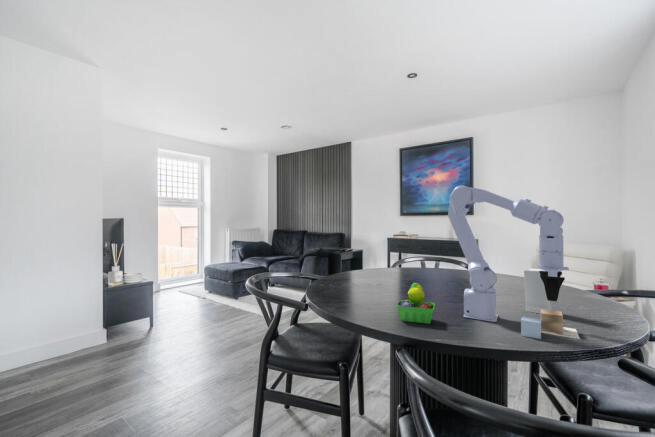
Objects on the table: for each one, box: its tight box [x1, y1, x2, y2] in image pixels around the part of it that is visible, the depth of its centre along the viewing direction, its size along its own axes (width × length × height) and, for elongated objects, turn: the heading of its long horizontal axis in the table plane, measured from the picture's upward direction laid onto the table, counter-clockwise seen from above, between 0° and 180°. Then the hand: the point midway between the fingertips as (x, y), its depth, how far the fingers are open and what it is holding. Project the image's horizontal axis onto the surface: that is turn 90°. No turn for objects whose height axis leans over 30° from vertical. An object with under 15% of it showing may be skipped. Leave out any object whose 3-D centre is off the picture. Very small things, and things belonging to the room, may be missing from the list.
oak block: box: [540, 309, 564, 334], centre depth 89 cm, size 5×5×5 cm
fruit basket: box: [396, 282, 436, 325], centre depth 99 cm, size 11×9×11 cm
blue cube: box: [520, 315, 542, 340], centre depth 85 cm, size 4×4×4 cm
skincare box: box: [523, 267, 560, 315], centre depth 106 cm, size 8×6×15 cm
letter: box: [541, 326, 581, 340], centre depth 89 cm, size 12×9×1 cm
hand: (551, 297), depth 89 cm, fingers open, 7 cm apart
